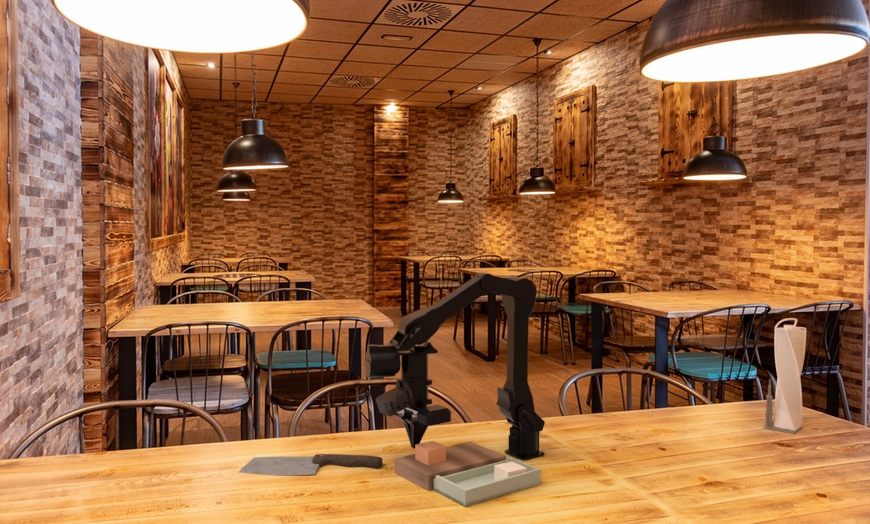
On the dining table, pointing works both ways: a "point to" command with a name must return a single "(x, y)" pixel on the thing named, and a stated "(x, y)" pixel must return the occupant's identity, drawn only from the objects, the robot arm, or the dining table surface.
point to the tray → (485, 483)
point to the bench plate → (446, 463)
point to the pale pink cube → (507, 470)
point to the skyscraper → (787, 379)
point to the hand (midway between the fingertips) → (414, 447)
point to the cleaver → (306, 464)
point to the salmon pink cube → (430, 452)
